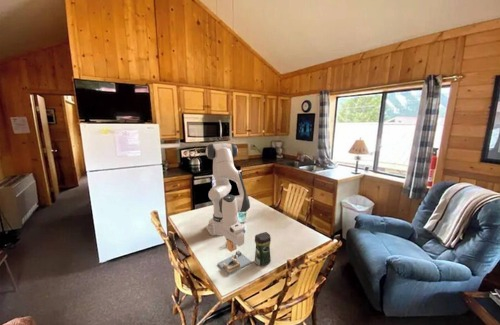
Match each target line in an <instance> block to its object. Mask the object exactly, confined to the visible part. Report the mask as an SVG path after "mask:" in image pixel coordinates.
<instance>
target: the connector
mask: <svg viewBox="0 0 500 325" xmlns="http://www.w3.org/2000/svg"><path fill="white" fill-rule="evenodd" d="M226 240H227V241H226ZM225 241H226V249H227V250H228V251H229V252H230V253H232V252H234V251H235V250H237V249H238V248H237V247H238V246H237V245H236V248H235V249H233V248H232V245H233V242H232V241H230V240H229V239H226V238H225Z"/></svg>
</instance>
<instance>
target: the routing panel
mask: <svg viewBox="0 0 500 325" xmlns="http://www.w3.org/2000/svg"><path fill="white" fill-rule="evenodd" d="M235 256H236V253H235V254H234V257H235ZM231 258H233V256H232V255H231V256H229V257H227V258H226V259H223V260H221V261H219V262H217V265H218V267H220V269H222V270H223V272H224V273H225V274H227V276H230V275H232V274H234V273H236V272H238V271H240V270H241V269H243V268H246V267H247V266H248V265H251V264H252V262H253V261H252V260H250V258H248V257H247V256H246V255H244V254H243V253H242V252H241V256H239V257H238V258H237V261H238V262H239V263H240V268H238V269H236V270H234V271H233V272H231V273H229V272H228V271H227V270H226V269H225V268H224V267H223V263H225V264H226V265H227V266H228V267H229V268H231V267H232V266H234V265H235V264H234V263H232V264H231V265H229V263H230V262H231Z"/></svg>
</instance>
